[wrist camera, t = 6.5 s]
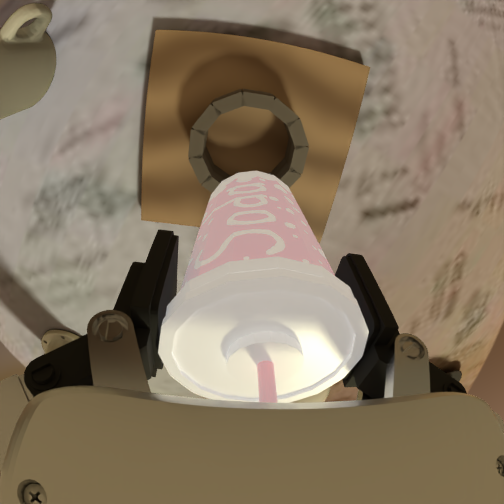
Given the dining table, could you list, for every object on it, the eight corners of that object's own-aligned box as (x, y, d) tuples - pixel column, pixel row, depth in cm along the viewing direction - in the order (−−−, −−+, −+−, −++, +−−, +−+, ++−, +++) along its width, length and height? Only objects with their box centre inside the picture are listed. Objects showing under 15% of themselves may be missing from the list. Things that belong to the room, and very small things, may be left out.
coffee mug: (14, 126, 26) (-41, 155, 18) (-15, 67, 21) (-72, 84, 12) (94, 53, 23) (40, 56, 15) (60, -10, 18) (3, -21, 10)
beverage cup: (320, 162, 15) (487, 464, 3) (299, 264, 18) (357, 523, 6) (193, 151, 14) (80, 502, 2) (192, 258, 17) (157, 532, 6)
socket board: (317, 235, 36) (327, 260, 32) (144, 213, 34) (132, 237, 30) (364, 66, 25) (385, 69, 21) (159, 31, 23) (145, 25, 18)
